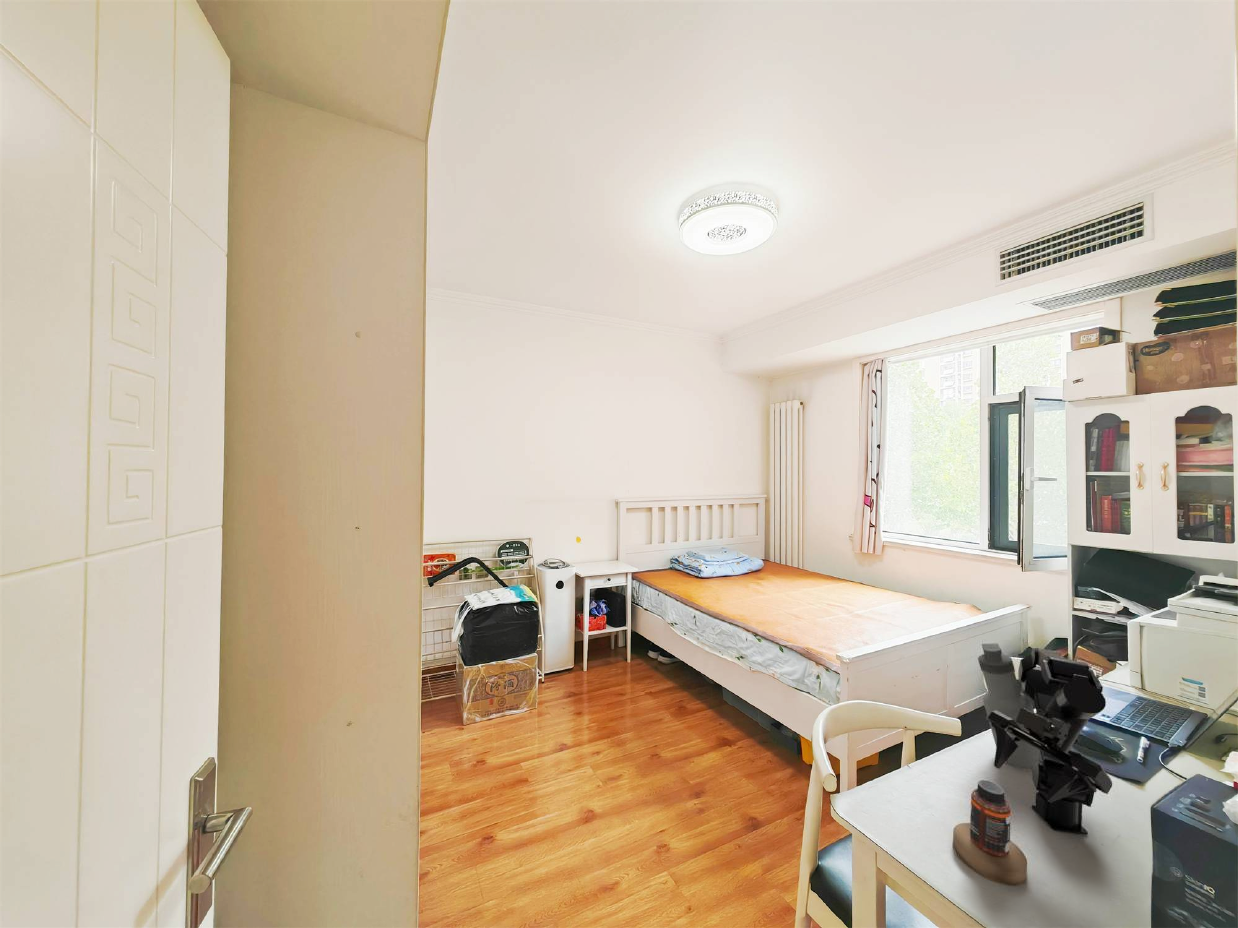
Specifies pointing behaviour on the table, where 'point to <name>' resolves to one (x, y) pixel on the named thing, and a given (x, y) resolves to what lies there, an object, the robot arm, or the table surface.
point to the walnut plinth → (990, 859)
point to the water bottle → (1006, 699)
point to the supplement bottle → (990, 819)
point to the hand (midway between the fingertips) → (1020, 782)
